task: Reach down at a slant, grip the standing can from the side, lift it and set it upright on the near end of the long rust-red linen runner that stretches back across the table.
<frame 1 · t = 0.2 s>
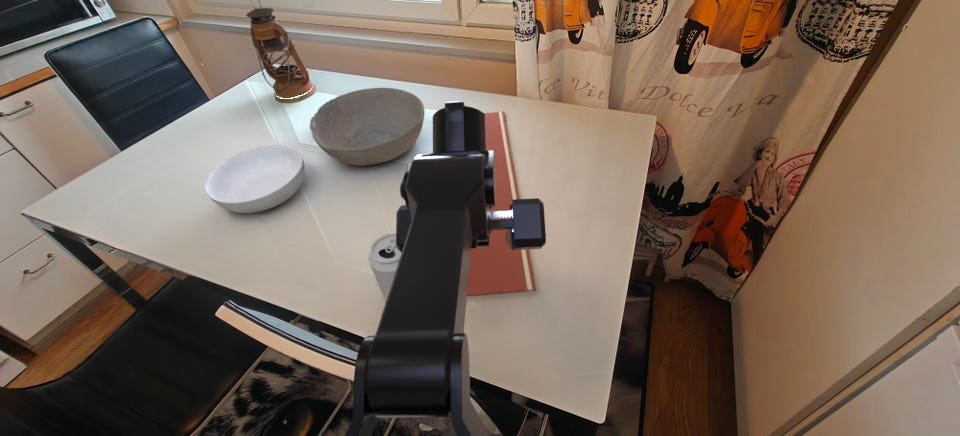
hand: (476, 237, 60), 14 cm above the table, tool tilted 35°, fingers open, 9 cm apart
can: (405, 291, 72), on the table
lantern: (296, 93, 132), on the table
bowl: (377, 147, 105), on the table
serving bowl: (268, 194, 95), on the table
napkin: (484, 183, 91), on the table
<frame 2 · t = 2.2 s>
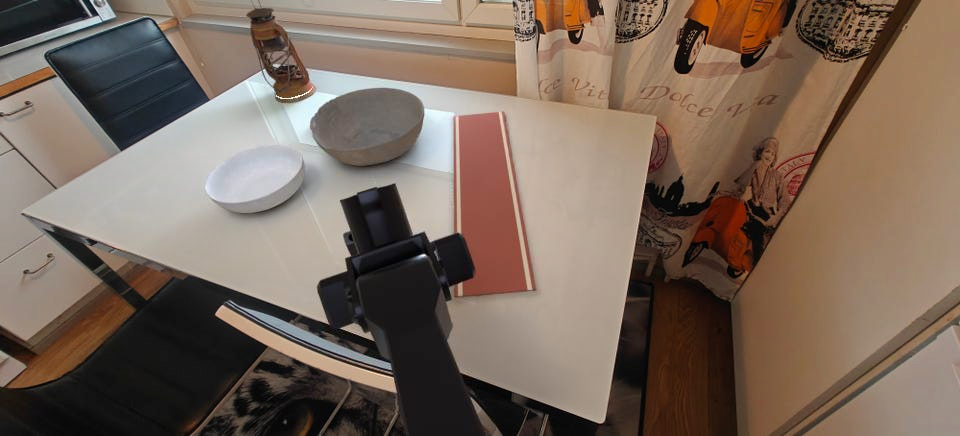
hand: (398, 273, 59), 12 cm above the table, tool tilted 45°, fingers open, 9 cm apart
nothing on the table moved.
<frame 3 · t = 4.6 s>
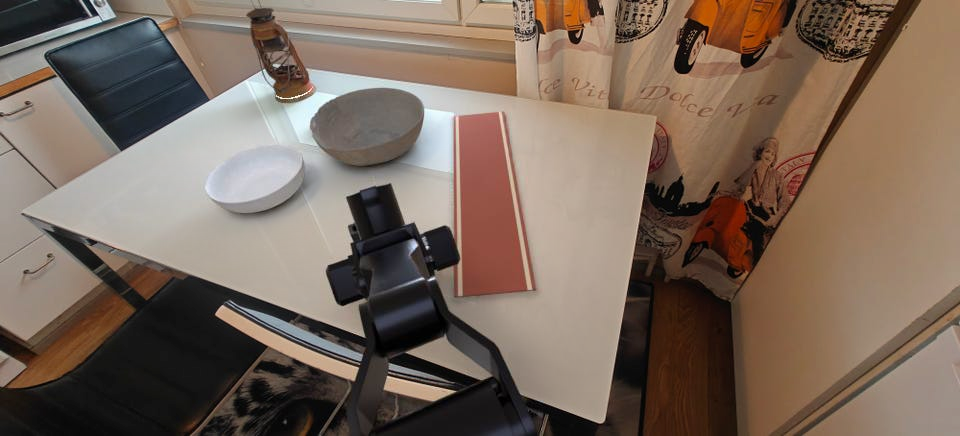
hand: (395, 261, 68), 7 cm above the table, tool tilted 45°, fingers closed on can, 7 cm apart
can: (405, 291, 72), on the table, touching gripper
everything else where it was.
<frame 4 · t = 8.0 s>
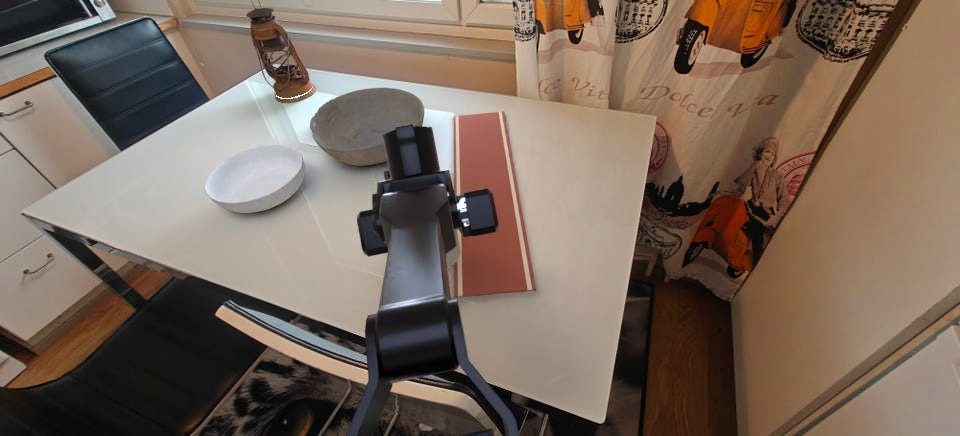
hand: (431, 223, 64), 13 cm above the table, tool tilted 45°, fingers closed on can, 7 cm apart
can: (439, 257, 68), point 6 cm above the table, touching gripper
everything else where it was.
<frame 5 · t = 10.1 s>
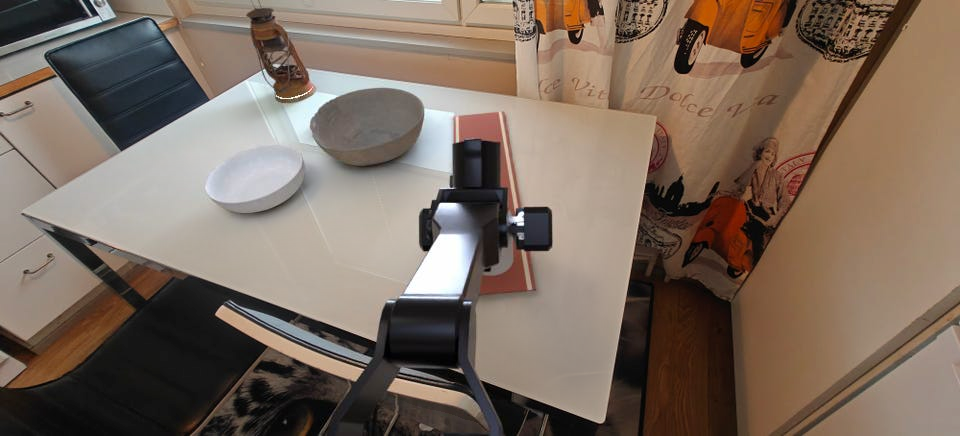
hand: (489, 228, 66), 11 cm above the table, tool tilted 45°, fingers closed on can, 7 cm apart
can: (491, 262, 70), point 4 cm above the table, touching gripper
everything else where it was.
when the fingers open (7 cm above the table, at t = 11.8 s): can stays where it is, resting on napkin.
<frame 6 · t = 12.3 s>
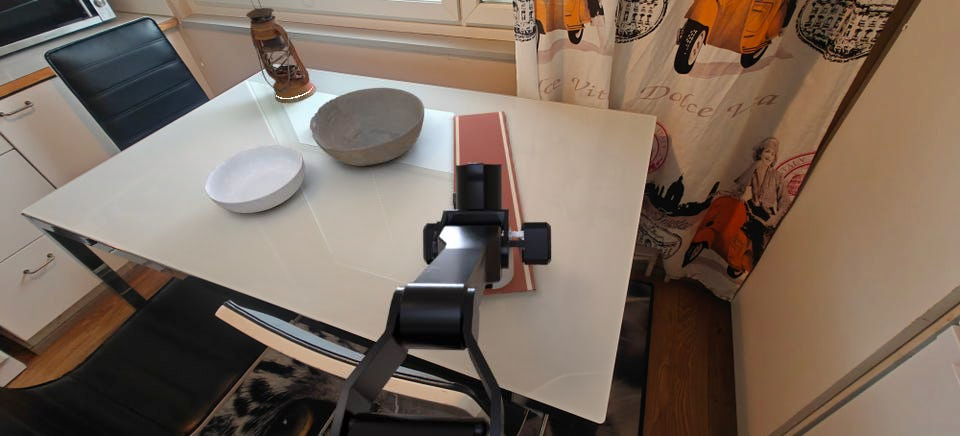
hand: (491, 240, 68), 8 cm above the table, tool tilted 45°, fingers open, 9 cm apart
can: (493, 275, 72), resting on napkin
everything else where it was.
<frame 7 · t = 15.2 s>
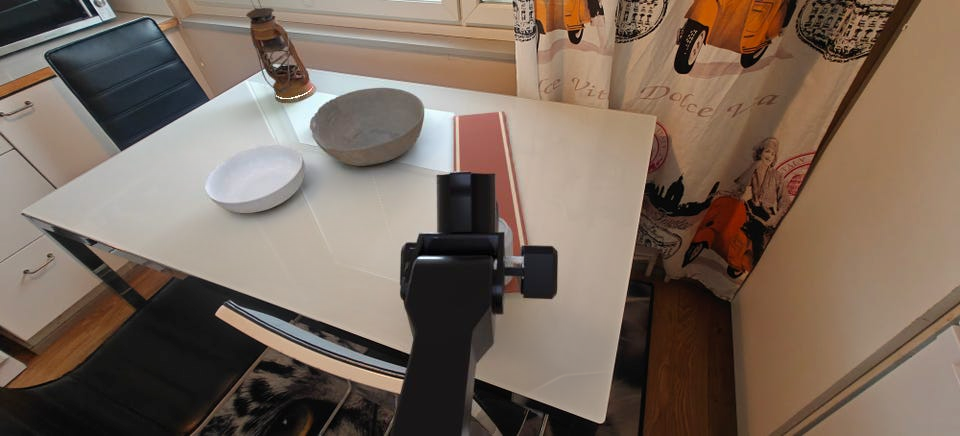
hand: (484, 263, 57), 14 cm above the table, tool tilted 45°, fingers open, 9 cm apart
nothing on the table moved.
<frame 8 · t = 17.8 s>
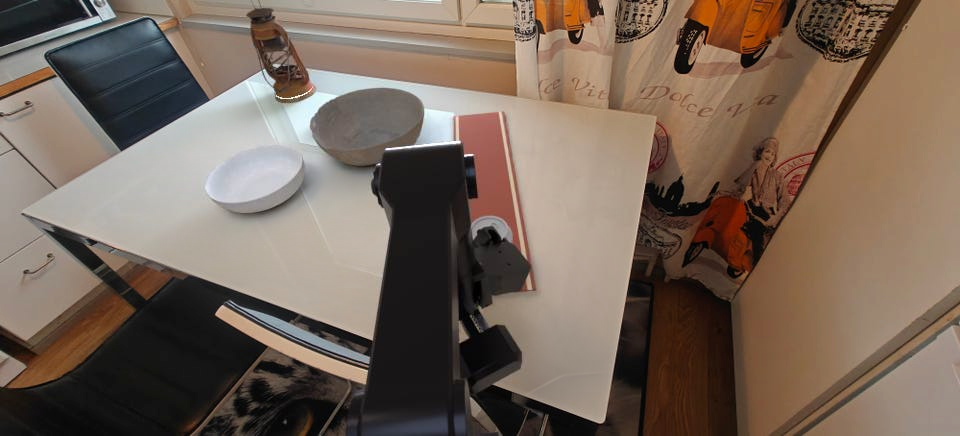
hand: (463, 341, 49), 13 cm above the table, tool pointing down, fingers open, 9 cm apart
nothing on the table moved.
at the end: can inside the target area on the napkin (0.1 cm from its centre), point 0.1 cm above the napkin's base; can tilted 0°; the gripper is holding nothing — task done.
